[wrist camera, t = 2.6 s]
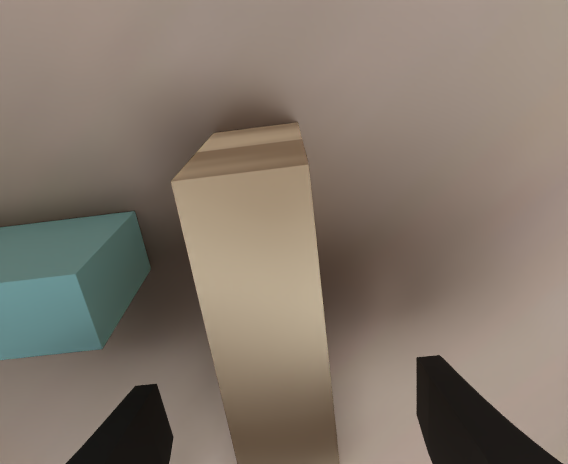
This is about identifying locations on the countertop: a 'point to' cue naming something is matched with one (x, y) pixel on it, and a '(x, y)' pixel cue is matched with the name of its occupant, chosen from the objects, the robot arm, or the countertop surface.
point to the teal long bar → (67, 283)
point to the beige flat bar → (261, 291)
